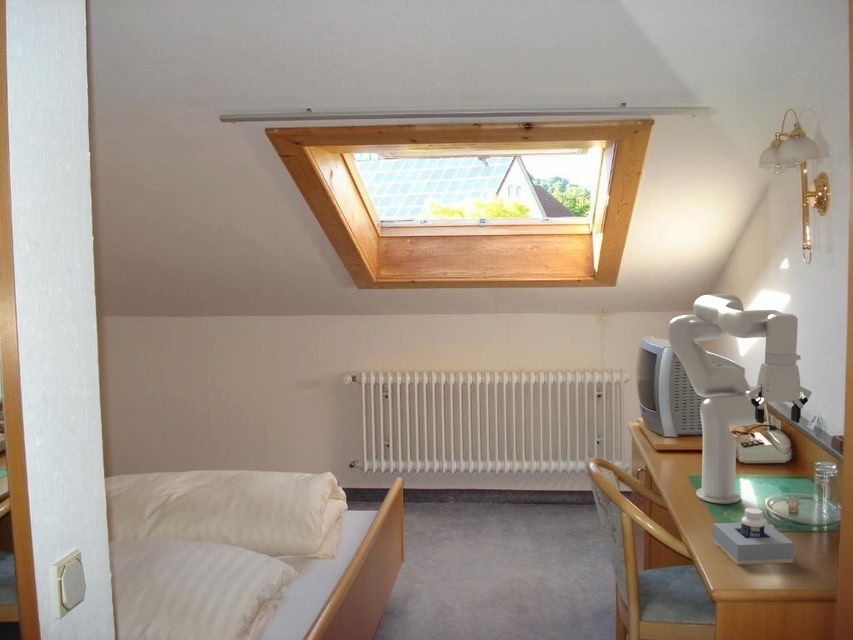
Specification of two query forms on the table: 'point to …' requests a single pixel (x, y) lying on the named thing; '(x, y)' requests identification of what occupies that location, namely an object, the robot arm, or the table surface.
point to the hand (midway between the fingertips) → (777, 421)
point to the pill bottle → (752, 524)
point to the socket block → (753, 545)
